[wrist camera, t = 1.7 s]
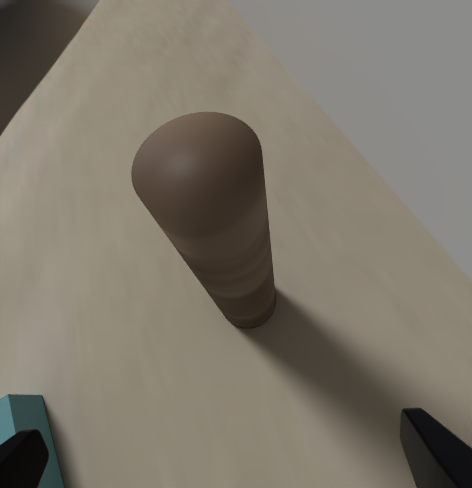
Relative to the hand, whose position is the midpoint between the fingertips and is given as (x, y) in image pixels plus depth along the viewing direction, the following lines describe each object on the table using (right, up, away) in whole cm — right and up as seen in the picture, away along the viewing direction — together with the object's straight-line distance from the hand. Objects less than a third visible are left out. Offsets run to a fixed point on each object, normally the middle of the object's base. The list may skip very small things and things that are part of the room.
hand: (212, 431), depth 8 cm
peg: (+1, +1, +15) cm, 15 cm away
